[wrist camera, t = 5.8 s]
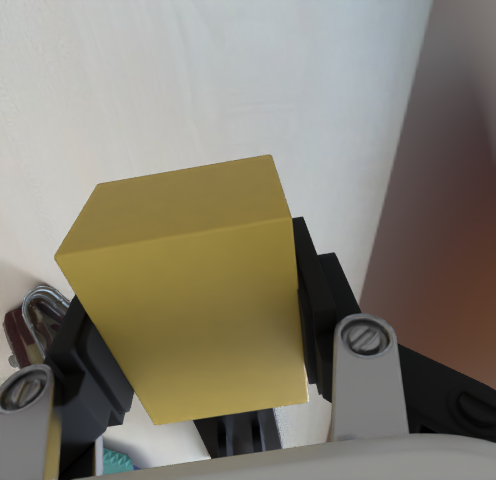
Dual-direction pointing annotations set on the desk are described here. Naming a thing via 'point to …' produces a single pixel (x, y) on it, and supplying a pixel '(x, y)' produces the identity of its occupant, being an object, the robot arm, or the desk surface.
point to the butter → (194, 287)
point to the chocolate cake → (34, 326)
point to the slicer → (240, 433)
